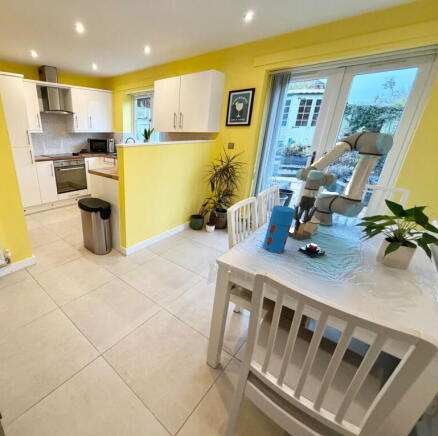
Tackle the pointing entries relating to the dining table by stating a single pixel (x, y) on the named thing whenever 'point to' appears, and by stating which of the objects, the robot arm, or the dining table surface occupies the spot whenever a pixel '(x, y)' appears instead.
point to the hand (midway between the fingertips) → (298, 230)
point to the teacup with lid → (312, 226)
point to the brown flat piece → (297, 236)
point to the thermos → (278, 228)
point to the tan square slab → (301, 227)
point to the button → (313, 245)
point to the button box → (311, 251)
